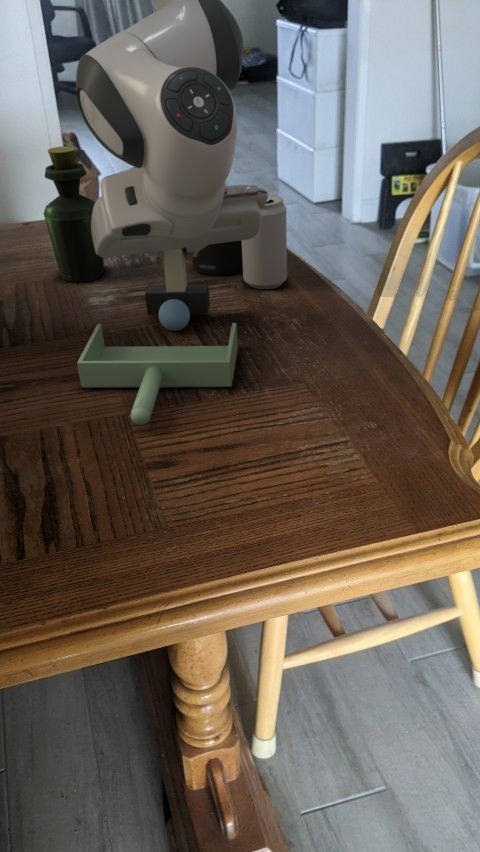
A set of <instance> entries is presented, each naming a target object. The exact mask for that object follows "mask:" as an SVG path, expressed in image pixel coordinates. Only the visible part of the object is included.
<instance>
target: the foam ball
mask: <svg viewBox="0 0 480 852" xmlns="http://www.w3.org/2000/svg"><path fill="white" fill-rule="evenodd" d="M157 316H158V320H159V323H160V324H161V326H162V327H164V328H165V329H166V330H168V331H172V332H177V331H178V332H179V331H181V330H183V329H184V328H186V327H187V325H188V324H189V322H190V320H191V319H190V317H191V315H190V313H189V309H188V307H187V306H186V304H185V303H183V302H182V301H180V300H177V299H171V300H168V301H166V302H164V303H163V304H162V305H161V307H160V309H159V314H158V315H157Z"/></svg>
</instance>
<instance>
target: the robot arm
mask: <svg viewBox="0 0 480 852" xmlns="http://www.w3.org/2000/svg"><path fill="white" fill-rule="evenodd" d="M150 1H151V2H152V4H153V6H154V8H155V11H154V12H153V13H151V14H149V15H147V16H146V17H144V18H143V19H141V20H139V21H138V22H135V23H134V24H133V25H131V26H128V28H126V29H124V30H122V31H118V32H117V33H116V34H114V35H112V36H110V37H108V38H107V39H105V40H104V41H103V42H101V43H99V44H97V45H96V46H95V47H93V48H92V49H90V50H88V51H87V52H86V53H85V54H82V55H81V56H80V58H79V61H78V63H77V67H76V74H75V75H76V76H75V85H76V86H75V88H76V98H77V99H76V100H77V104H78V107H79V110H80V113H81V116H82V119H83V121H84V123H85V125H86V127H87V128H88V130H89V131H90V132H91V134H92V135H93V137H94V138H95V139H96V141H97V142H98V143H99V144H100V145H101V146H102V147H103V148H104V149H105V150H106V151H108V153H109V154H111V155H113V156H114V157H115V158H117V159H119V160H120V161H123V162H124V163H126V164H128V165H130V166H132V167H130V168H127V169H125V170H123V171H119V172H116V173H112V174H109V175H106V176H104V177H103V178H101V180H100V195H101V196H99V197H98V198H97V199H96V201H95V205H94V208H93V212H92V218H91V234H92V239H93V244H94V248H95V252H96V254H97V255H98V256H100V257H103V259H107V258H109V259H110V258H115V257H121V256H122V257H123V256H130V255H131V256H132V255H139V254H146V255H147V256H149V257H150V261H151V263H158V262H159V263H160V262H164V261H163V258H164V254H163V251H162V250H170V249H178V248H184V255H185V259H188V258H192V257H197V254H198V251H200V250H201V249H203V248H204V247H206V246H207V245H209V244H217V243H225V242H233V241H240V240H248V239H251V238H253V237H254V236H256V235H257V234H258V232H259V228H260V222H261V213H260V208H262V207H263V206H264V205H265V204H266V201H267V198H268V194H269V193H268V191H267V189H265V188H263V187H262V188H261V187H259V186H258V185H254V184H251V185H249V184H236V185H227V178H229V175H230V173H231V170H232V166H233V162H234V157H235V154H236V149H237V148H236V147H237V139H238V117H237V110H236V105H235V101H234V98H233V96H232V93H231V92H232V91H233V90H234V89H235V88H236V86H237V84H238V82H239V79H240V76H241V72H242V68H243V63H244V53H245V52H244V51H245V49H244V48H245V43H244V37H243V35H242V30H241V28H240V26H239V24H238V22H237V20H236V17H234V15H233V13H232V12H231V11H230V10H229V8H228V7H227V5H226V4H225V3H223V1H222V0H150Z"/></svg>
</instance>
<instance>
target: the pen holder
mask: <svg viewBox="0 0 480 852" xmlns="http://www.w3.org/2000/svg"><path fill="white" fill-rule="evenodd" d="M191 258H192V264H193V265H192V266H193V268H194V269H195V270H196V271H197V272H198V273H200V274H203V275H208V276H213V277H214V276H216V277H217V276H218V277H219V276H220V277H221V276H231V275H236V274H240V273H243V259H242V240H240V241H233V242H225V243H217V244H209V245H207V246H206V247H204V248H203V249H201V250H200V251H198V254H197V257H191Z"/></svg>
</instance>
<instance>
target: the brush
mask: <svg viewBox="0 0 480 852" xmlns="http://www.w3.org/2000/svg"><path fill="white" fill-rule="evenodd" d="M162 251H163V254H164V258H163V261H162V262H163V271H164V279H165V280H164V281H165V284H148V286H147V288H146V290H145V293H144V297H145V304H146V314H147V316H159V315H158V314H159V309H160V307H161V305H162V304H163V303H164V302H166V301H168V300H171V299H177V300H180V301H182V302H183V303H185V304H186V306H187V307H188V309H189V313H190V316H193V315H194V316H199V315H201V316H202V315H204V316H206V315H207V316H208V315H209V311H210V307H211V302H210V299H211V298H210V287H209V286H210V285H209V284H188V279H187V269H186V268H187V267H186V258H185V252H184V248H178V249H170V250H162Z"/></svg>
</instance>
